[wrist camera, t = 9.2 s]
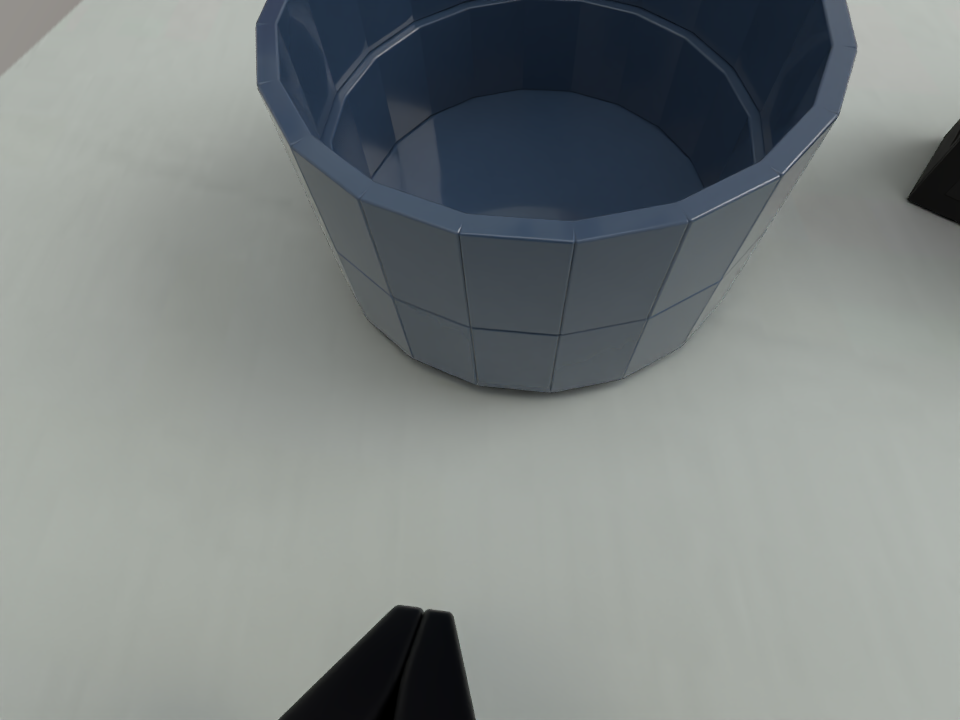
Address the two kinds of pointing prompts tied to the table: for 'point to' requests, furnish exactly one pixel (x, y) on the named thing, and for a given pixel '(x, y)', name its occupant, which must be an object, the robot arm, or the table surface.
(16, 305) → the table surface
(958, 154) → the digital camera
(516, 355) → the bowl
